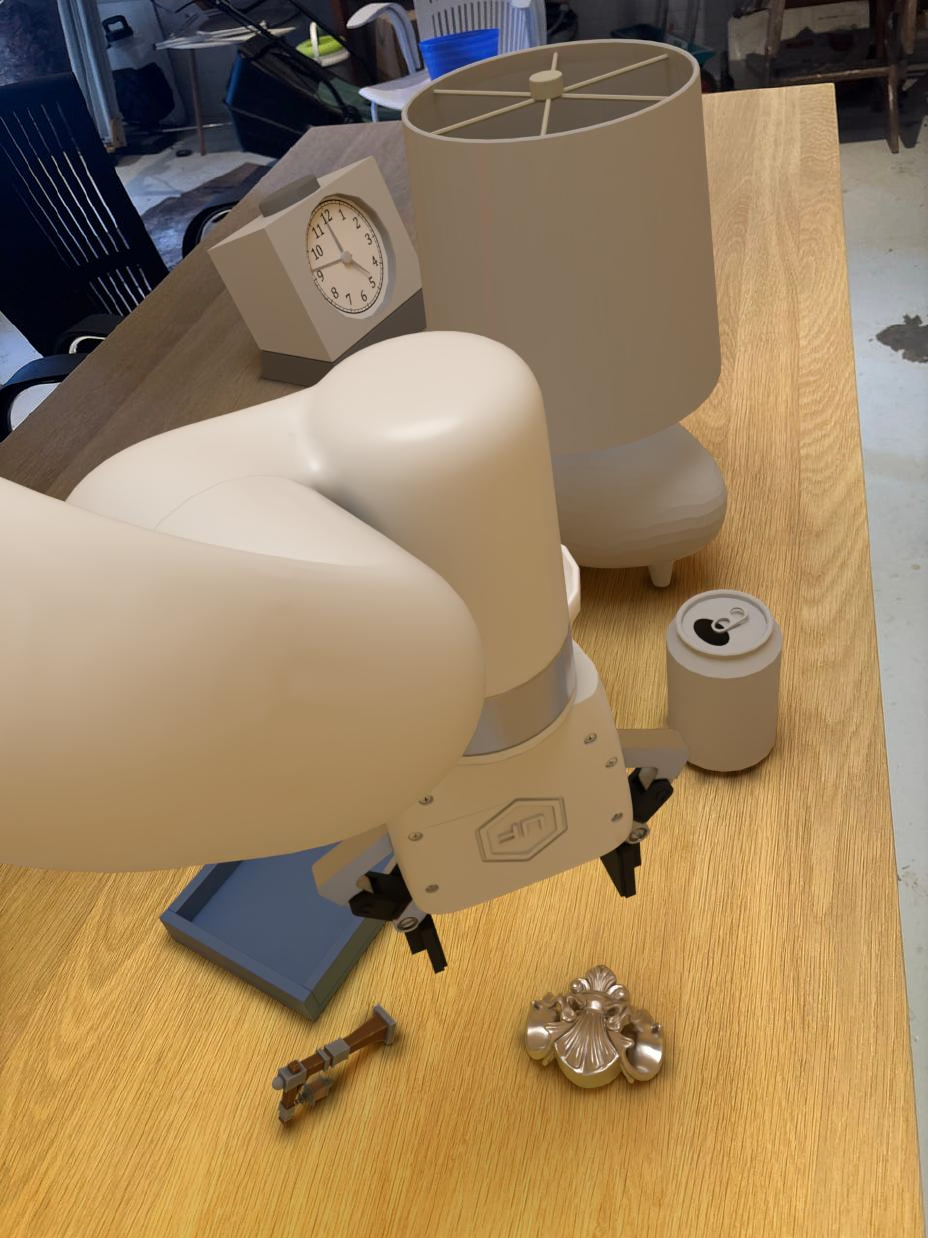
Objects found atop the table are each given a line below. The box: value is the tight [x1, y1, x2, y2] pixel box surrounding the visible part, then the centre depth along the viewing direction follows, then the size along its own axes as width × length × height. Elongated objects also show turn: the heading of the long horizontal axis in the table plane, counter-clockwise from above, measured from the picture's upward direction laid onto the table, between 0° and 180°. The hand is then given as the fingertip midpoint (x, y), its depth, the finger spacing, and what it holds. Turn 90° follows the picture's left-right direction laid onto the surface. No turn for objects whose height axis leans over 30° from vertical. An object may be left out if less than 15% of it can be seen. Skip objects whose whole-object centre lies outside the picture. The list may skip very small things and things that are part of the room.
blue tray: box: [158, 840, 394, 1023], centre depth 70 cm, size 15×13×3 cm
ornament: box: [524, 964, 666, 1089], centre depth 59 cm, size 8×7×4 cm
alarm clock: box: [206, 154, 427, 388], centre depth 123 cm, size 20×16×20 cm
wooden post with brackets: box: [271, 1002, 398, 1127], centre depth 60 cm, size 2×8×4 cm, turn 133°
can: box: [665, 588, 784, 773], centre depth 70 cm, size 8×8×12 cm
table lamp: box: [400, 38, 728, 588], centre depth 77 cm, size 23×22×40 cm
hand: (525, 909), depth 50 cm, fingers open, 9 cm apart
